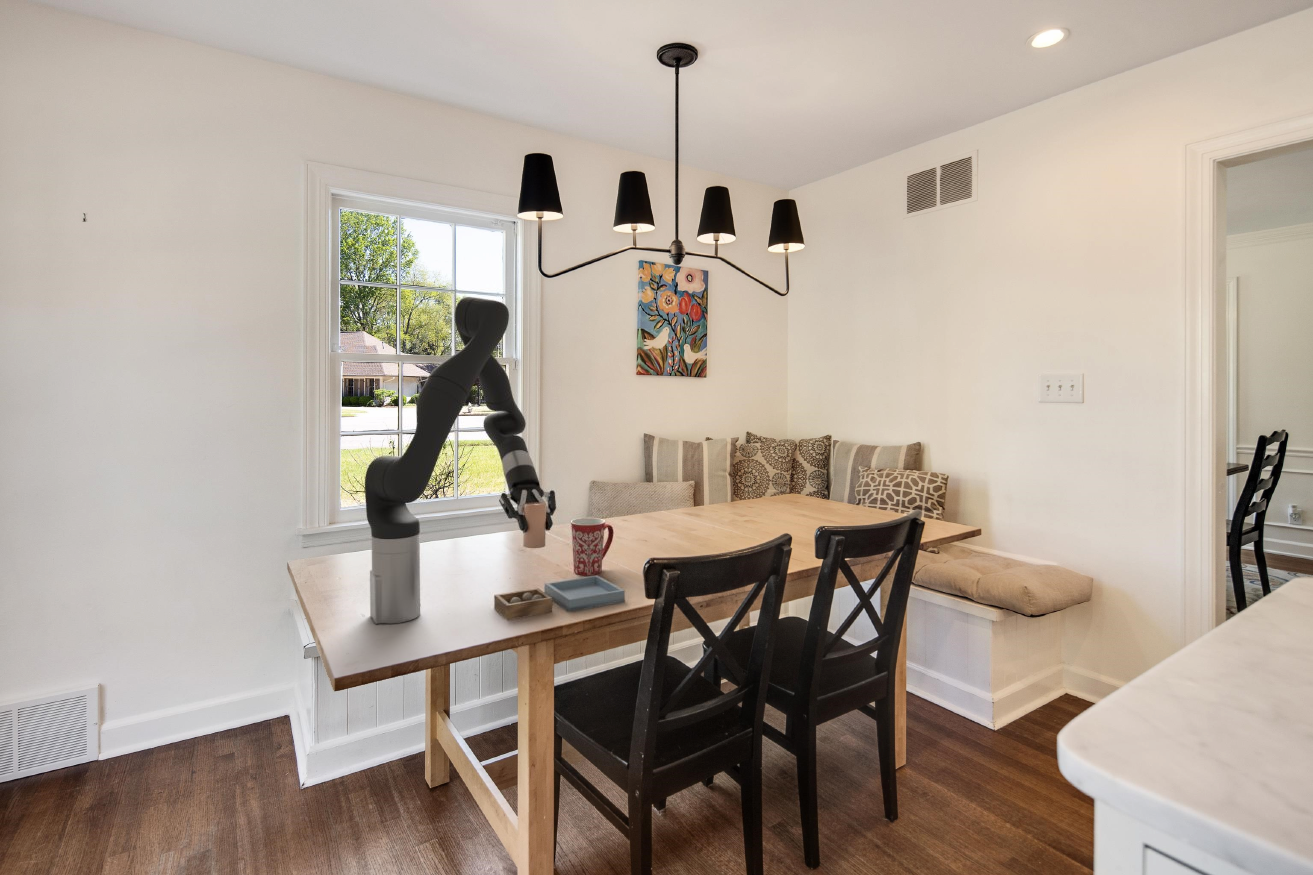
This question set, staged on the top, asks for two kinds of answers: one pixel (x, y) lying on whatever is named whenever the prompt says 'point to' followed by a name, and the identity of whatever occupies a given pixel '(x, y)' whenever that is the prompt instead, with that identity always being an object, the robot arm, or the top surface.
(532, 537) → the wooden block
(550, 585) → the dish
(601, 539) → the mug
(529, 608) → the parts tray
